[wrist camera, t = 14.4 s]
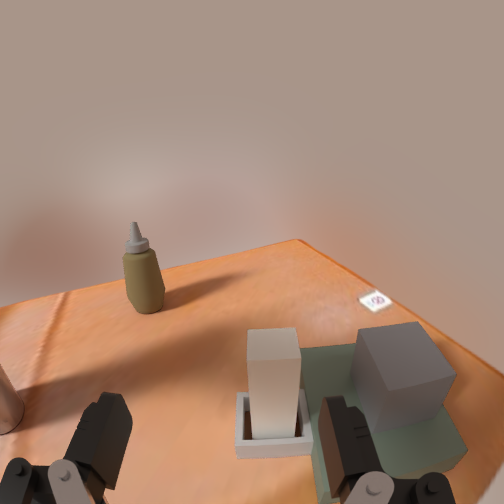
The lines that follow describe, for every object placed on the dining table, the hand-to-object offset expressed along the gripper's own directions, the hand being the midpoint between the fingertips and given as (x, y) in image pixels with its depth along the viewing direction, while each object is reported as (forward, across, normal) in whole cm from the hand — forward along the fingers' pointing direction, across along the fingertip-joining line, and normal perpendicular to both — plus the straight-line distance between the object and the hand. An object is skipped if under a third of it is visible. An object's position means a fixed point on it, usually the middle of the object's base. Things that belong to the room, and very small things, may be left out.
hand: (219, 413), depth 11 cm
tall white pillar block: (+14, -3, +22) cm, 26 cm away
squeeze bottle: (+44, +20, +23) cm, 53 cm away
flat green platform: (+14, -11, +22) cm, 28 cm away
